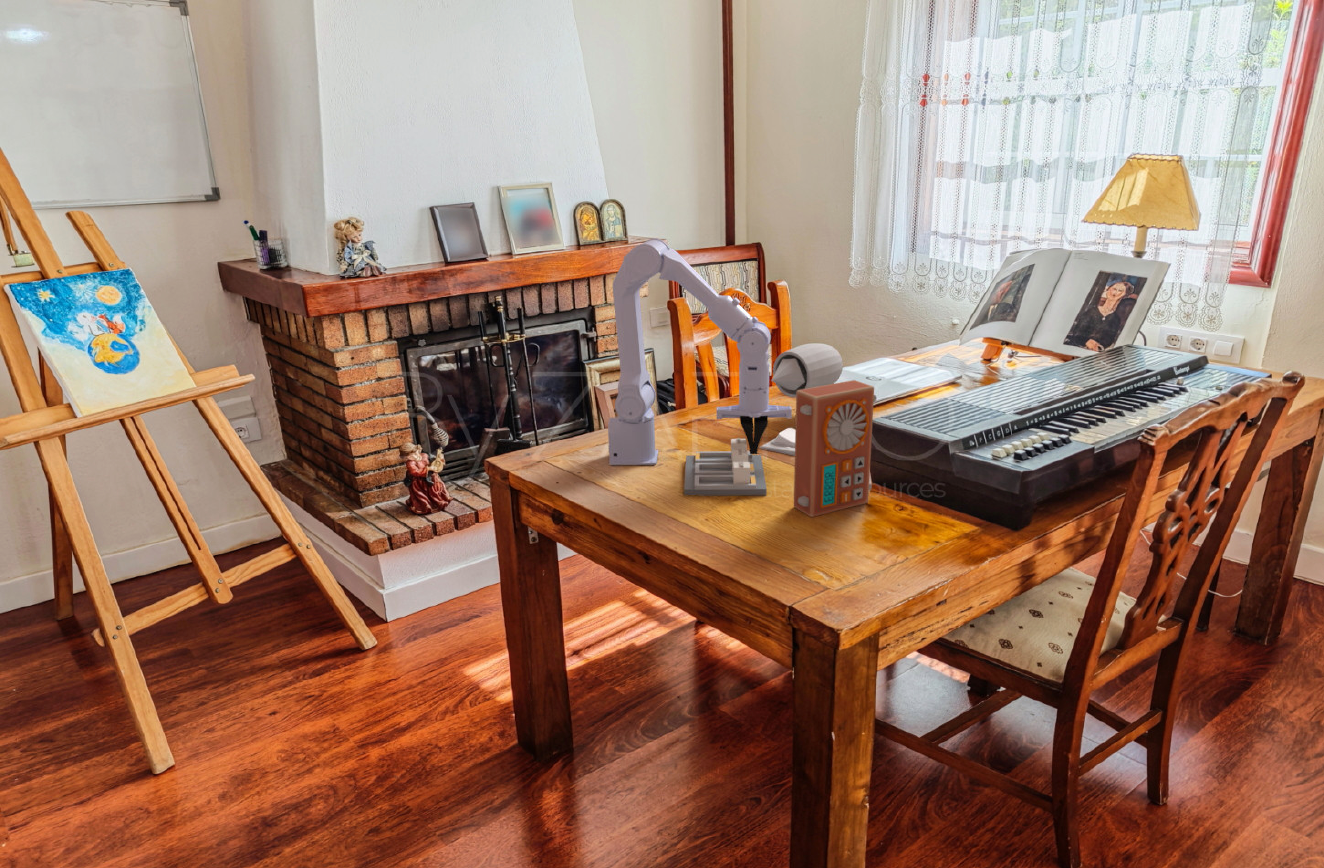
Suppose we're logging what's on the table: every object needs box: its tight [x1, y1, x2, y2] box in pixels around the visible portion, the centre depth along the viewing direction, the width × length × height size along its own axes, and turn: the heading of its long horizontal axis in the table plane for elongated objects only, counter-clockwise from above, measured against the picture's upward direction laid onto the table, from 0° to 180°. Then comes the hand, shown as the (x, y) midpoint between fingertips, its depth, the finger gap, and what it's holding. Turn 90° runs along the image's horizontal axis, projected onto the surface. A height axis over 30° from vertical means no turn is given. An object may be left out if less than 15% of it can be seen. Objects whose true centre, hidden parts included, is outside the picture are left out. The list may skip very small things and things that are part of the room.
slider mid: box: [732, 449, 749, 471], centre depth 167 cm, size 3×3×4 cm
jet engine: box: [770, 342, 844, 399], centre depth 198 cm, size 15×20×18 cm
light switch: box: [758, 427, 796, 457], centre depth 184 cm, size 11×4×13 cm
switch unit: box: [683, 450, 768, 496], centre depth 168 cm, size 15×18×2 cm
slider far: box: [730, 437, 748, 459], centre depth 173 cm, size 3×3×4 cm
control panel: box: [793, 379, 877, 518], centre depth 151 cm, size 21×7×15 cm
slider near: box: [733, 461, 750, 484], centre depth 161 cm, size 3×3×4 cm
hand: (753, 452), depth 173 cm, fingers closed
